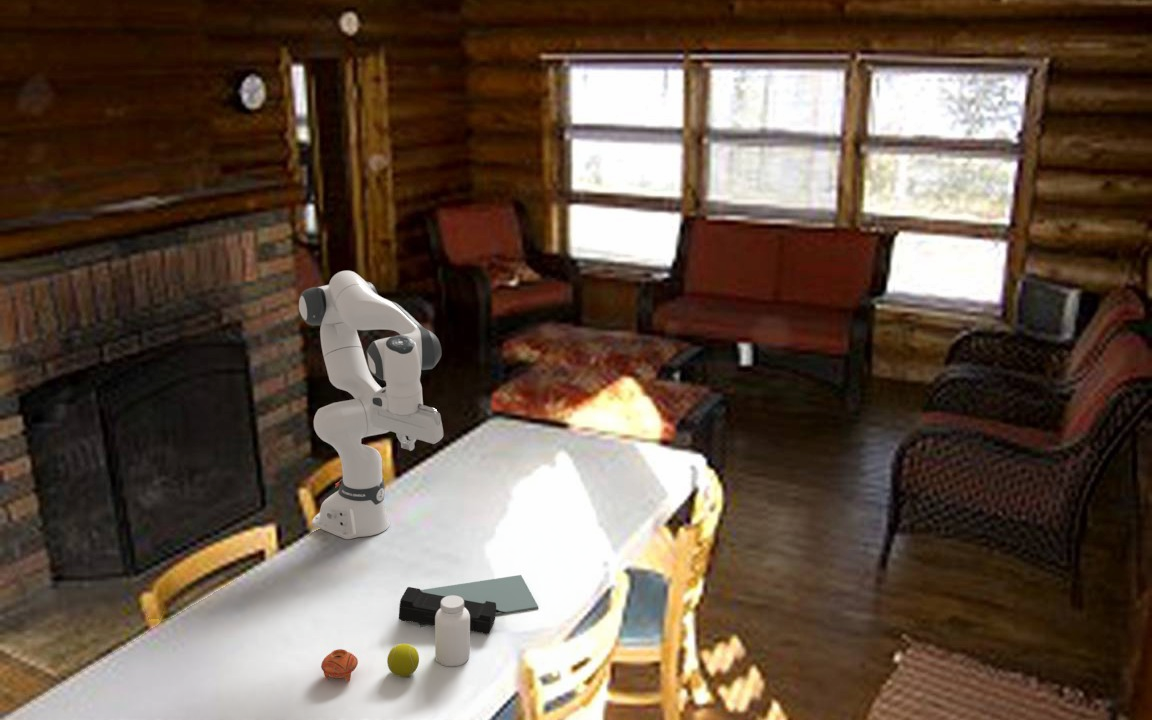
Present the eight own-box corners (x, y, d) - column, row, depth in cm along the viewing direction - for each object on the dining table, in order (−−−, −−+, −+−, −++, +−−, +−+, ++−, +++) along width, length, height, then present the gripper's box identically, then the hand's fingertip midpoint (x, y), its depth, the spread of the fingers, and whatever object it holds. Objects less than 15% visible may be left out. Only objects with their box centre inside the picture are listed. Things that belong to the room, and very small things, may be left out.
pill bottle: (455, 671, 231) (455, 614, 226) (428, 660, 235) (427, 603, 230) (477, 654, 237) (476, 598, 233) (450, 643, 241) (449, 587, 237)
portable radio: (396, 624, 246) (497, 643, 244) (398, 602, 244) (499, 621, 242) (406, 606, 254) (504, 625, 251) (407, 585, 252) (506, 603, 249)
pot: (326, 691, 223) (322, 662, 222) (320, 678, 230) (317, 650, 229) (363, 682, 226) (359, 652, 225) (356, 669, 233) (352, 641, 232)
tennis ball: (420, 664, 234) (420, 637, 231) (417, 682, 227) (416, 655, 225) (390, 664, 233) (389, 637, 231) (385, 682, 227) (384, 655, 224)
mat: (419, 627, 247) (419, 625, 247) (408, 593, 262) (408, 591, 261) (538, 608, 257) (538, 606, 256) (521, 576, 271) (521, 574, 271)
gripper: (447, 404, 249) (449, 452, 255) (379, 385, 258) (383, 433, 264) (432, 415, 244) (435, 464, 250) (363, 396, 253) (368, 444, 259)
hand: (407, 448), depth 257 cm, fingers closed
